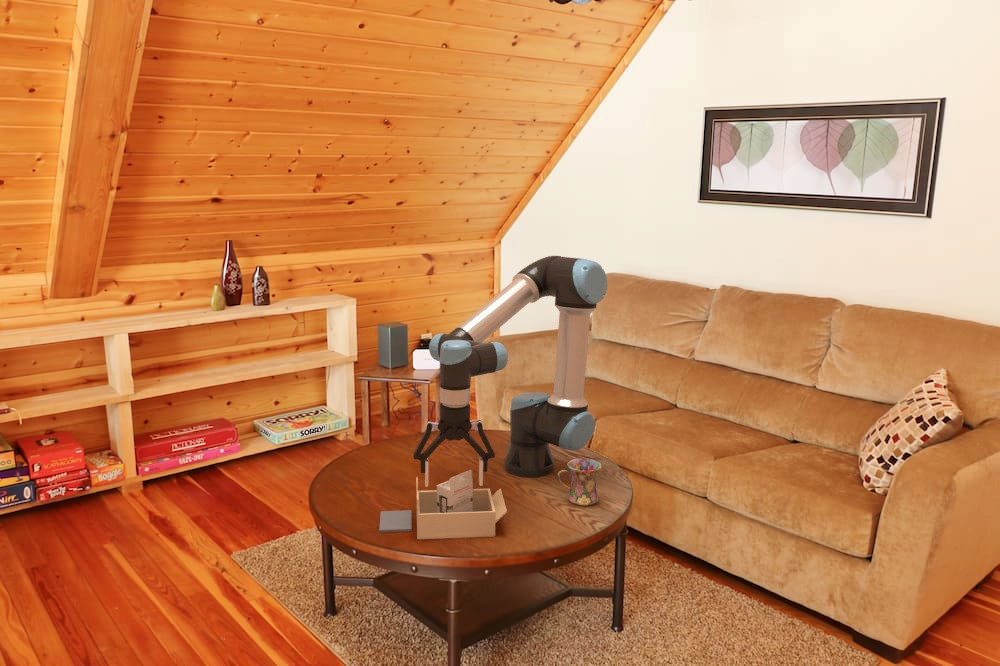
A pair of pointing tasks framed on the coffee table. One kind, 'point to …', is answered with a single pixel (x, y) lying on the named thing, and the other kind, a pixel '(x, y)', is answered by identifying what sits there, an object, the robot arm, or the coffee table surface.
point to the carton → (459, 516)
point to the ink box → (456, 494)
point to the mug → (582, 481)
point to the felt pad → (395, 521)
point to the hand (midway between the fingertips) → (453, 484)
